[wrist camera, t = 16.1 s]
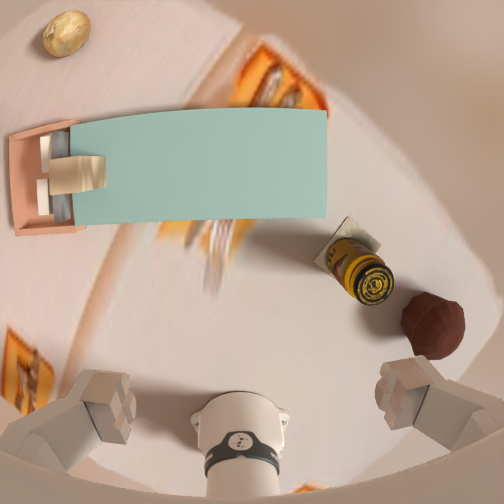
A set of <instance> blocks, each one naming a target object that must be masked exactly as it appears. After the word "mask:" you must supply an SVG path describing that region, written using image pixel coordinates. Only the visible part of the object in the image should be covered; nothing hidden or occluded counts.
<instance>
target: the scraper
mask: <svg viewBox="0 0 504 504" xmlns="http://www.w3.org/2000/svg"><path fill="white" fill-rule="evenodd" d="M68 134H69V132H63V131H54V132H52V139H51V160H49V188H50V195H52V197H53V212H54V223H59V222H63V221H65V220H68V219H70V218H71V215H70V201H69V193H79V192H84V191H89V190H93V189H98V188H103V187H106V157H105V156H73V157H68Z"/></svg>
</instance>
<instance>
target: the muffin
mask: <svg viewBox="0 0 504 504" xmlns="http://www.w3.org/2000/svg"><path fill="white" fill-rule="evenodd" d="M401 326H402V328H403V329H404V331H405V334H406V336H407V338H408V339H409V341H410V343H411V345H412V349H413V352H414V355H415V356H419V355H422V356H425V357H426V359H427V360H440V359H443V358H445V357H447V356H449V355H450V354H451V353H453V352H454V351H455V350H456V349H457V348H458V346H459V344H460V343H461V341H462V339H463V336H464V332H465V318H464V312H463V308H462V307H461V306H460V305H459V304H458V303H457V302H454V301H448V300H445V299H443V298H441V297H439V296H436V295H431V294H429V293H426V292H425V293H423V294H421V295H419V296H416V297H414V298H412V300H411V301H410V303H409V304H408V305H407V307H406V308H405V309H404V310H403V316H402V320H401Z"/></svg>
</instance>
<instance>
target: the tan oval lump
mask: <svg viewBox="0 0 504 504" xmlns="http://www.w3.org/2000/svg"><path fill="white" fill-rule="evenodd" d="M89 33H90V20H89V18H88V16H87V15H86V14H84V13H82V12H80V11H67V12H64V13H62V14H60V15H58V16H56V17H55V18H54V19H53V20H52V21H51V22H50V23H49V24H48V26H47V27H46V29H45V31H44V32H43V45H44V47H45V49H46V50H47V52H48V53H49V54H51V55H53V56H56V57H65V56H68V55H71V54H73V53H74V52H76V51H77V50H78V49H79V48H80V47H82V46H83V45H84V42H85V41H86V40H87V39H88V36H89Z"/></svg>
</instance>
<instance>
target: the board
mask: <svg viewBox="0 0 504 504" xmlns="http://www.w3.org/2000/svg"><path fill="white" fill-rule="evenodd" d="M73 156H105V157H106V187H103V188H98V189H93V190H89V191H84V192H79V193H72V198H73V210H74V220H75V226H84V225H100V224H118V223H137V222H159V221H185V220H216V219H263V218H326V201H327V111H325V110H311V109H292V108H211V109H192V110H178V111H167V112H156V113H147V114H139V115H131V116H124V117H117V118H110V119H104V120H98V121H93V122H87V123H82V124H77V125H72V126H70V157H73Z"/></svg>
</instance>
